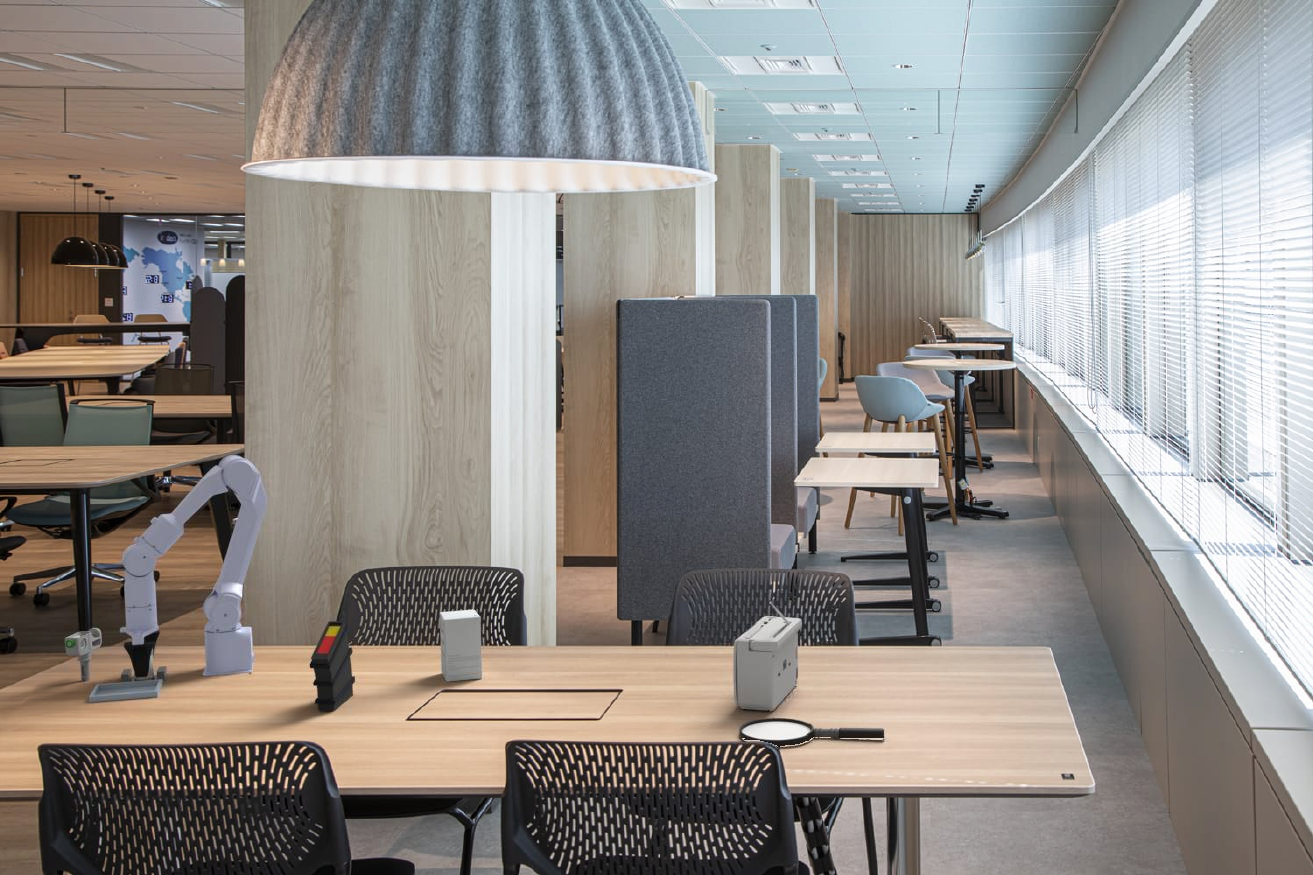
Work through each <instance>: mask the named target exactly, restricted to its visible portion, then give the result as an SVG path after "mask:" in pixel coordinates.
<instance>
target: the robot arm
mask: <svg viewBox="0 0 1313 875" xmlns="http://www.w3.org/2000/svg"><path fill="white" fill-rule="evenodd" d="M227 487H228V488H229V489H231V490H232V491H233V494H234V496H236V498H237V500H238V501H239V503H240V508H239V511H238V514H237V518H236V521H235V524H234V528H233V531H232V534H231V538H230V541H229V544H228V548H227V550H226V554H225V557H224V561H223V563H222V566H221V567H222V568H221V571H220V574H219V576H218V579H217V581H216V582H215V584H214V585H213V589H212V592H211V593H210V594H209V595H208V596H207V597H206V599H205V600H204V602H203V605H202V606H203V607H202V612H203V614H204V616H205V618H207V623H206V624H205V626H204V627H203V635H204V637H203V638H204V655H205V657H204V658H205V665H204V669H203V672H202V676H203V677H207V676H208V677H209V676H210V677H211V676H219V675H236V674H247V673H249V674H252V673H253V668H254V663H255V653H254V649H253V648H254V646H253V631H252V630H253V628H252V627H251V626H242V623H241V622H240V621H241V619H242V608H241V603H242V599H243V585H244V582H245V579H246V575H247V572H248V569H249V566H250V562H251V559H252V556H253V552H254V549H255V546H256V543H257V539H258V536H259V533H260V530H261V526H262V523H263V521H264V518H265V514H266V510H267V507H268V498H267V494H266V490H265V486H264V485H263V482H262V475H261V473H260V472H259V470H258V469H257V467H255V465H254V464H253V463H252V462H251V461H250V460H248V459H247V458H244V457H242V456H240V455H238V454H231V455H226V456H225V457H223V458H222V459H221V460H220V461H219V463H218V465H215V466H213V467H212V468H210V469H209V471H208V472H206V474H205V475H203V476H202V478H201V479H200V480H199V481H198V482H197V484H195V486H194V487H193V488H192V489H191V490H190V491H189V493H188V494H187V495H186V496H185V497H184V498H183V499H182V500H181V501H180V503H179V504H178V505H177V507H175V509H174V510H172V512H171V513H163V514H160V515H159V516H158V517H155V516H154V517H153V518H152V519H151V520H150V522H149V523H151V524H150V525H149V526H148V527H147V529H145V531H144V532H143V533H142V534H141V535H140V536H139V537H138V536H136V537H135V538H134V539H133V542H134V544H131V545H129V546H128V547H126V548H125V550H124V551H123V553H122V556H121V558H120V560H121V564H122V566H123V567H124V568H125V570H124V575H123V578H124V580H125V581H124V584H123V586H124V589H123V590H124V607H125V608H124V609H125V626H121V627H120V629H119V633H126V634H127V635H128V636H129V637H130V639H131V641H125V642H124V644H123V648H124V649H125V651H126V652H127V654H128V657H129V658H130V661H131V664H132V669H133V674H134V673H135V676H136V678H138V677H147V676H148V672H149V664H150V656H151V652H152V649H153V659H155V658H154V656H155V650H156V645H157V641H158V638H159V636H160V634H161V630H159V625H158V613H157V612H158V610H157V592H156V589H157V588H156V581H155V573H154V570H155V569H156V567H157V562H158V561H157V560H158V559H159V558H162V557H163V556H164V555H165V554H166V553H167V551H169V550H170V549H171V547H172V546H173V545H174V544H175V543H176V542H177V541H178V540H179V539H180V538H181V537H182V536H183V535H184V533H185V531H184V524H185V523H186V522H187V521H188V520H190V518H191V517H193V515H194V514H196V512H198V510H199V509H200V508H202V506H204V504H205V503H207V501H209V500H210V499H211V498H212V497H213V496H216V495H219V494H223V493H227V492H229V489H228V488H227Z"/></svg>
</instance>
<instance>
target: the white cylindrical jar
mask: <svg viewBox="0 0 1313 875" xmlns="http://www.w3.org/2000/svg"><path fill="white" fill-rule="evenodd" d="M154 667H155V666H154V658H153V649H152V652H151V656H150V664H149V672H148V676H147V677H138V678H136V676H135V673H134V672H133V675H134V676H133V677H134V681H146V680H153V679H154V675H155V671H154V670H155V668H154Z"/></svg>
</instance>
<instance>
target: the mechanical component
mask: <svg viewBox="0 0 1313 875" xmlns="http://www.w3.org/2000/svg"><path fill="white" fill-rule="evenodd" d="M102 643H103V640H102V631H101V629H100V628H98V627H92V628H90V629H88V630H87V631H85V630H84V631H78V632H75V633H73V634H71V635H69V636H67V637H64V646H65V654H66V655H67V656H77V659H76V660H77V661H78V662H79V664H80V680H81V682H84V681H85V682H90V680H91V678H90V677H91V676H90V674H91V673H90V661H91V660H92V654H91V653H92V652H93V651H95V650H97V649H99V648H100V647H101V646H102Z"/></svg>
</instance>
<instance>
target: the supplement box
mask: <svg viewBox="0 0 1313 875" xmlns="http://www.w3.org/2000/svg"><path fill="white" fill-rule="evenodd" d="M481 626H482V625H481V616H480V615H479V614H478V612H477V611H476V610H475V609H465V610H463V609H462V610H454V611H452V610H451V611H440V612H439V628H440V629H439V630H440V659H441V660H440V662H441V664H440V665H441V673H442V676H443V678H444V679H445V682H447V683H448V682H455V681H456V682H457V681H468V680H469V681H470V680H479V679H483V664H482V663H483V662H482V661H483V660H482V635H481V634H482V633H481V632H482V631H481V630H482V629H481V628H482V627H481Z"/></svg>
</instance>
